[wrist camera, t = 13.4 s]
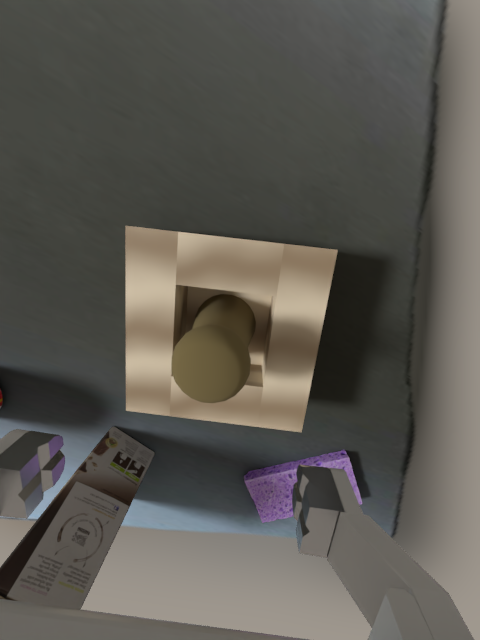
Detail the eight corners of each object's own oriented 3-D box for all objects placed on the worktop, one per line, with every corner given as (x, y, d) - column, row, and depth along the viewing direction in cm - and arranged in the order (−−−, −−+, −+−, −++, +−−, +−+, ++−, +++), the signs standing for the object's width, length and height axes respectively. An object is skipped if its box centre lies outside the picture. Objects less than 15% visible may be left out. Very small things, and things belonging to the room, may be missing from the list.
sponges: (357, 491, 34) (363, 504, 32) (260, 511, 36) (260, 525, 34) (344, 445, 33) (350, 457, 31) (243, 469, 34) (243, 481, 32)
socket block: (153, 229, 27) (125, 225, 21) (319, 248, 26) (337, 249, 20) (149, 379, 31) (125, 410, 25) (292, 396, 31) (301, 432, 25)
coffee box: (111, 423, 33) (-17, 586, 17) (157, 452, 33) (73, 633, 18) (76, 472, 35) (-66, 656, 19) (119, 498, 36) (17, 694, 20)
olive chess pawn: (267, 314, 27) (277, 361, 16) (235, 363, 28) (225, 435, 18) (213, 281, 26) (186, 307, 15) (183, 333, 28) (140, 389, 17)
